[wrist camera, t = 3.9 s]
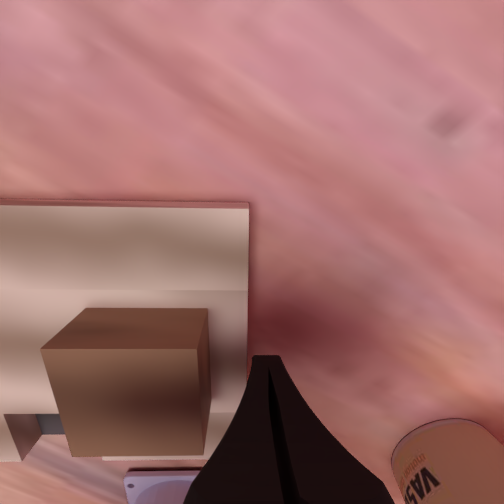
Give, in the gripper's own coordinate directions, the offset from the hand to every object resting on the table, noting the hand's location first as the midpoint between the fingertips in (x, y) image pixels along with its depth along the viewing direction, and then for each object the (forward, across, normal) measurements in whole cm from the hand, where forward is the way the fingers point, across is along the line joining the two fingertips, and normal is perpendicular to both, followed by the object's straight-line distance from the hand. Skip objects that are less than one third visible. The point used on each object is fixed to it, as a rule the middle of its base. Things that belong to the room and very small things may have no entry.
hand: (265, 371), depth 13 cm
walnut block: (+1, +6, 0) cm, 6 cm away
